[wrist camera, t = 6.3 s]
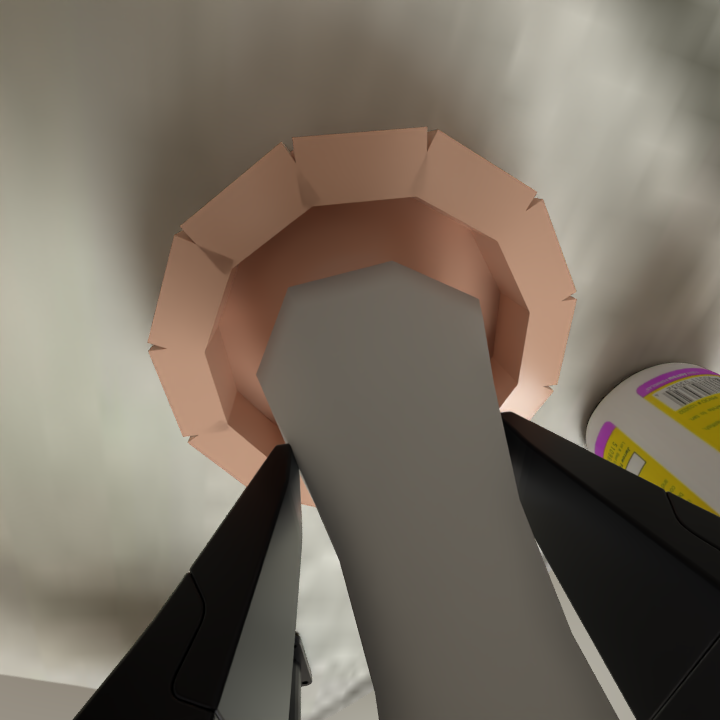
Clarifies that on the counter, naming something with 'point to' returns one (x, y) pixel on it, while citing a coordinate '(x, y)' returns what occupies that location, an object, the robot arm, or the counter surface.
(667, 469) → the supplement bottle
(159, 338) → the dish
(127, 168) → the counter surface
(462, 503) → the flask
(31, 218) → the counter surface
